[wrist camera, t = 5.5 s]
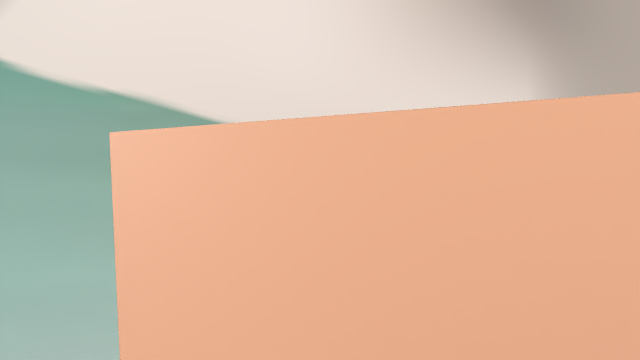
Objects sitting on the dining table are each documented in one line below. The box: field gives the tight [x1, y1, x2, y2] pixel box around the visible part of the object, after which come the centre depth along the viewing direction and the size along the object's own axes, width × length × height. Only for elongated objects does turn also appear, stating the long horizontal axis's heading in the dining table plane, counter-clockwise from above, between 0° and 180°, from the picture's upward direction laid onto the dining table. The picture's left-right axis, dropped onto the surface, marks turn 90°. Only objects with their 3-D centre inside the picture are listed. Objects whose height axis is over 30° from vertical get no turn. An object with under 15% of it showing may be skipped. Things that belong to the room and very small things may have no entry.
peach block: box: [110, 92, 640, 360], centre depth 9 cm, size 5×5×13 cm
